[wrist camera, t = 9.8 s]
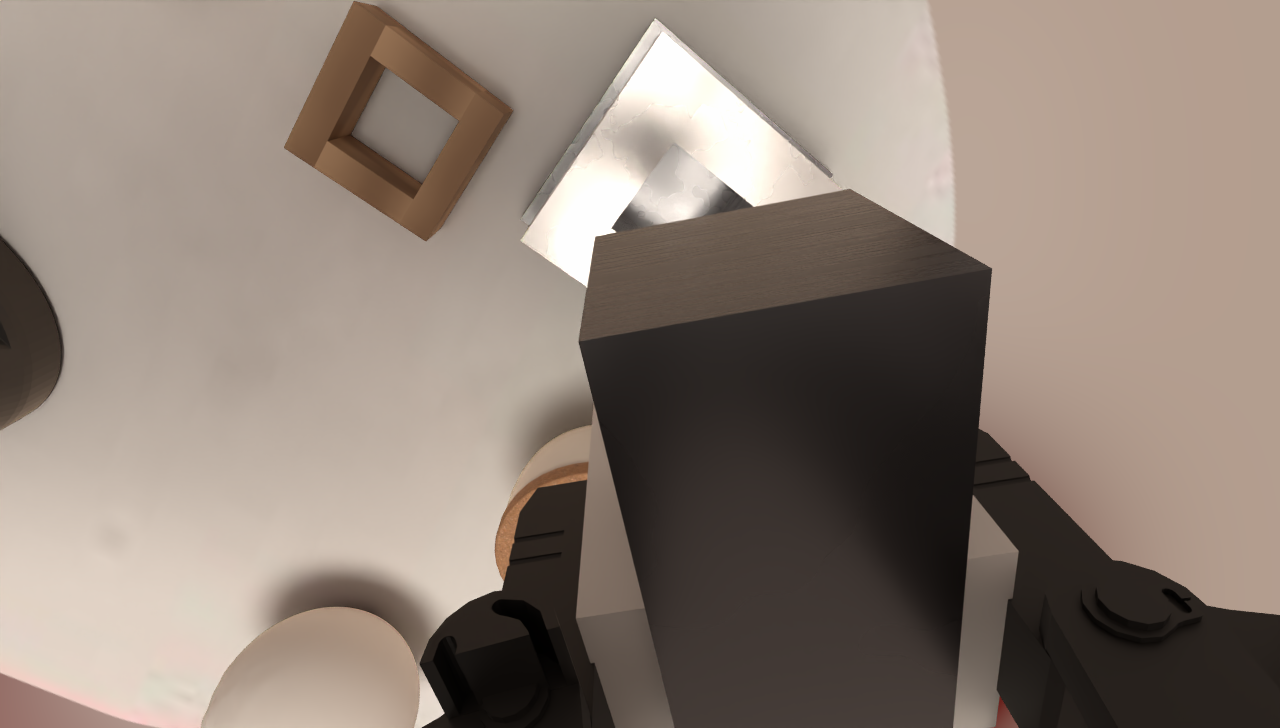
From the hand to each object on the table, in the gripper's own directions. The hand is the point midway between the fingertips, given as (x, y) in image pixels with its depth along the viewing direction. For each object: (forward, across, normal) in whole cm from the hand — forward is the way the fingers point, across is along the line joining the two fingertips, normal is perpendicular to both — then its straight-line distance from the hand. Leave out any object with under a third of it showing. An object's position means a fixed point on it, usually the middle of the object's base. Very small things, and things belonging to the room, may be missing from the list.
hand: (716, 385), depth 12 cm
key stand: (+20, -11, +5) cm, 24 cm away
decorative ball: (+21, -27, -26) cm, 43 cm away
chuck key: (+5, 0, 0) cm, 5 cm away
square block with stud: (+20, +2, -2) cm, 21 cm away
